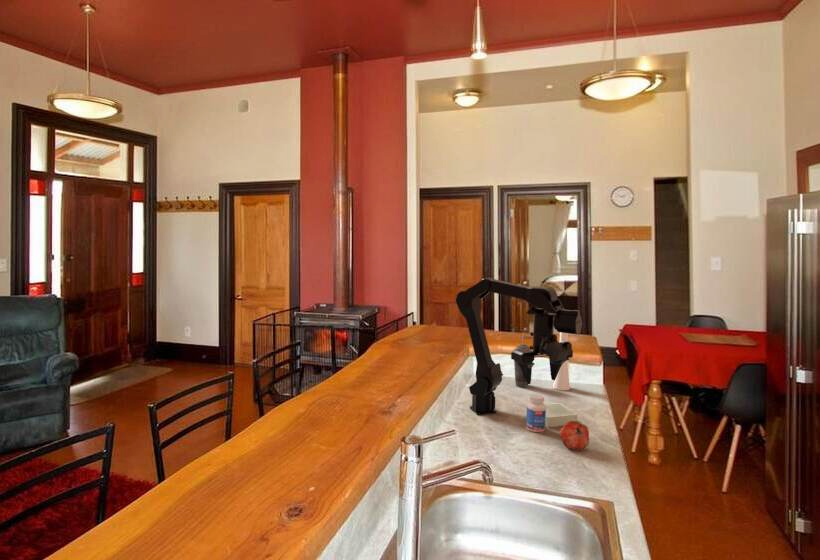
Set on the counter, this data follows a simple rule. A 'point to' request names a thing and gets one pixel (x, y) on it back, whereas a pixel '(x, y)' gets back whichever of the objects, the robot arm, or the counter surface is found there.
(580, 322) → the robot arm
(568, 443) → the pomegranate
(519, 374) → the beverage cup
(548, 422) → the plinth
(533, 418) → the pill bottle
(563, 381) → the cosmetic bottle
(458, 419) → the counter surface
